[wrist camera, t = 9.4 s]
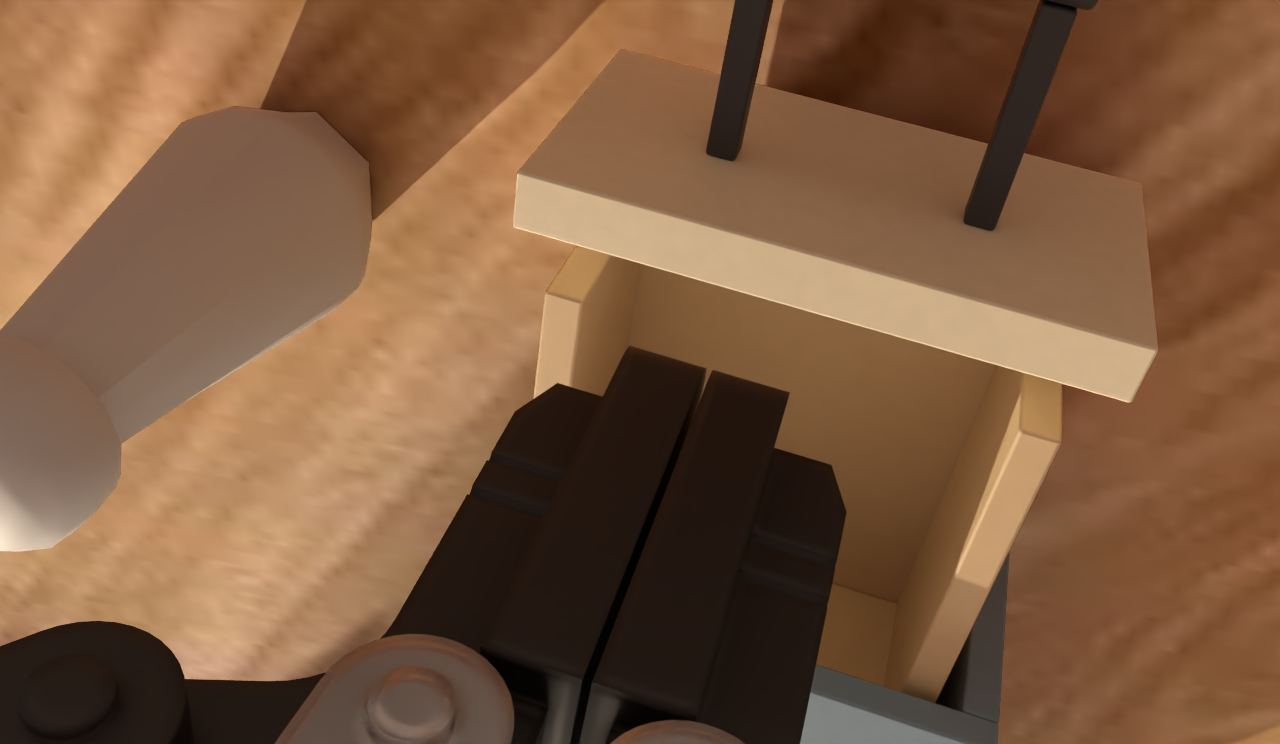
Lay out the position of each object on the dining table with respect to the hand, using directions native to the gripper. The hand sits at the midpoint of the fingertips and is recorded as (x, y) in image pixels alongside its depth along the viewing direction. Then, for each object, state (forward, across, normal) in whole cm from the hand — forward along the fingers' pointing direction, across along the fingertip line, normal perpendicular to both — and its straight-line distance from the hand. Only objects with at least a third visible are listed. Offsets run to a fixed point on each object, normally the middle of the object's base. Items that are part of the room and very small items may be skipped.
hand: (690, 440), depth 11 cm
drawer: (+16, -1, +8) cm, 18 cm away
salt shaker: (+17, +13, +10) cm, 24 cm away
